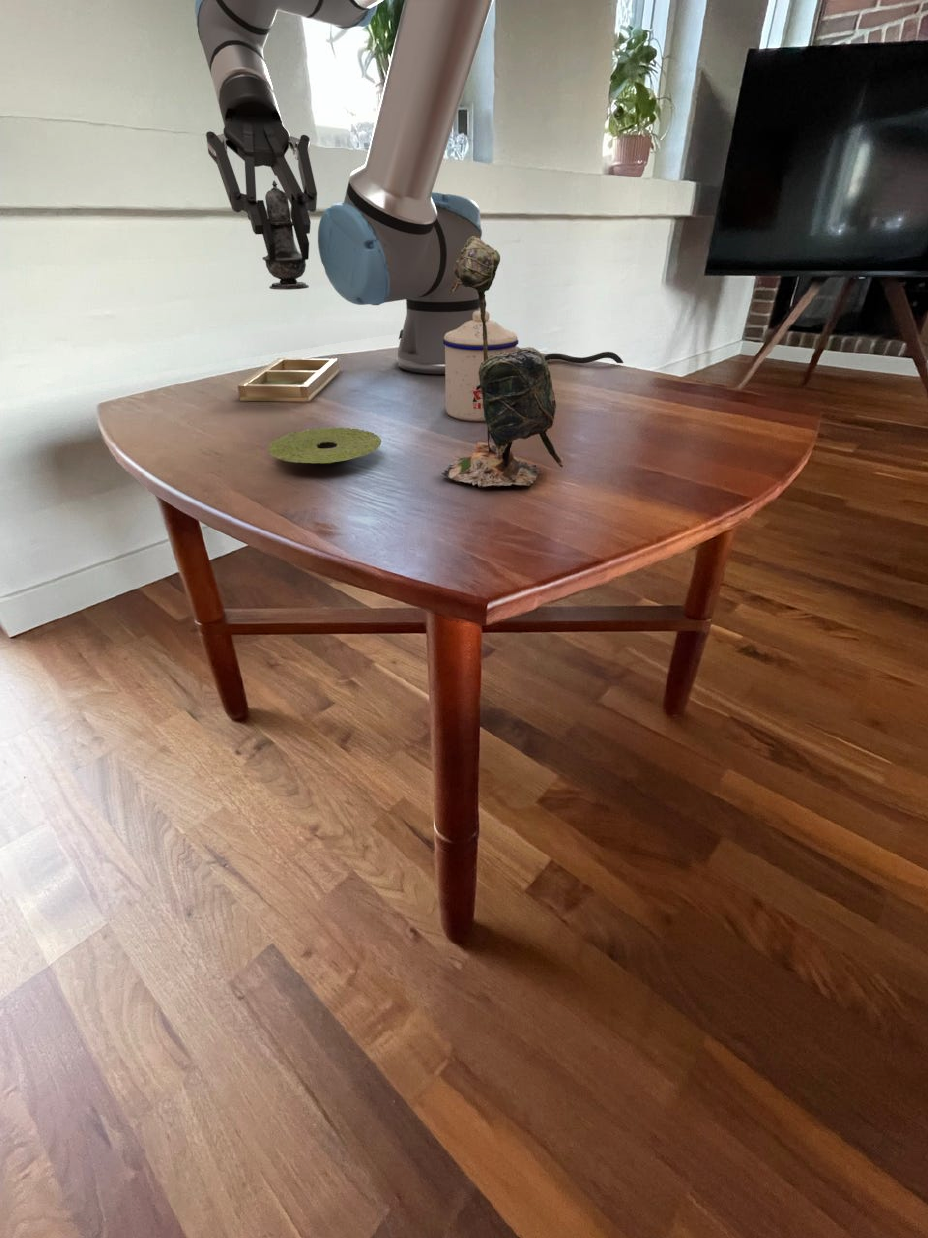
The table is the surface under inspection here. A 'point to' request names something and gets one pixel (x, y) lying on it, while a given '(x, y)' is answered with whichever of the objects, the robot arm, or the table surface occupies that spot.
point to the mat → (324, 445)
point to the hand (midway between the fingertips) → (289, 251)
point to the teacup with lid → (471, 364)
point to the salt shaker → (283, 243)
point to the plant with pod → (503, 390)
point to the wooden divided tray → (289, 380)
